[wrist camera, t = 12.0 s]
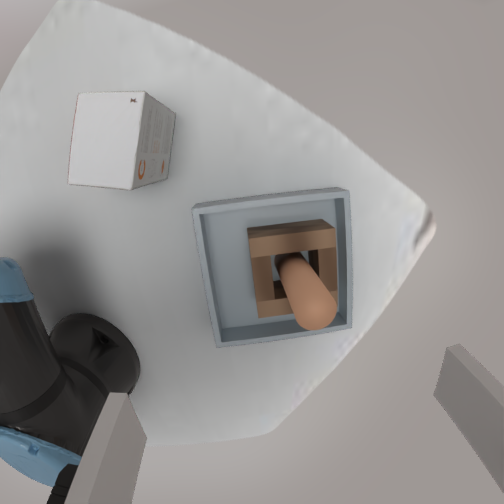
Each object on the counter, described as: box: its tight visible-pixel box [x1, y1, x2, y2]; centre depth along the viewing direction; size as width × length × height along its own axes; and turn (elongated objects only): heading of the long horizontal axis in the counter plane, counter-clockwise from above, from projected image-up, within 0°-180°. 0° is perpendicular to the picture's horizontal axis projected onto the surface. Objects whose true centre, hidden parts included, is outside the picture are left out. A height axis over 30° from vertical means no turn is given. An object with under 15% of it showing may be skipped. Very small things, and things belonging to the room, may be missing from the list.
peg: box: [274, 252, 337, 330], centre depth 31 cm, size 4×4×14 cm
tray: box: [192, 188, 353, 348], centre depth 37 cm, size 17×17×4 cm
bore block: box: [247, 219, 338, 318], centre depth 36 cm, size 9×9×5 cm
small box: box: [68, 91, 176, 190], centre depth 28 cm, size 8×6×13 cm
